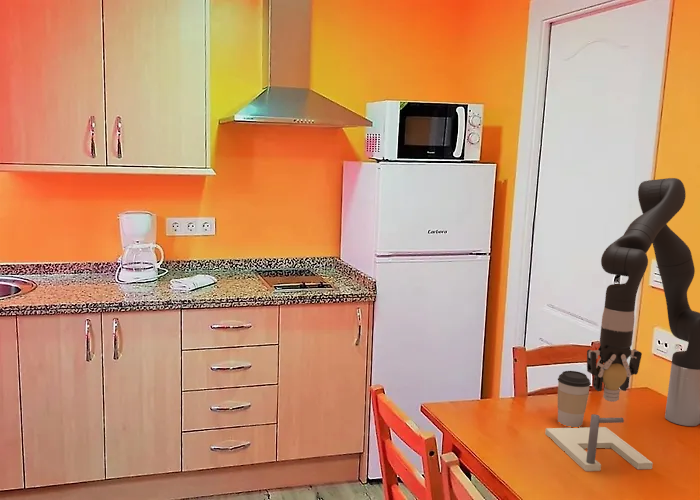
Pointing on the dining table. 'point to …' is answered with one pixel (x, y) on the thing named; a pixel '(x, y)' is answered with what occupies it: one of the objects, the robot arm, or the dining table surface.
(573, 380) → the coffee cup
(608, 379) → the light bulb
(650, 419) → the dining table surface
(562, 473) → the dining table surface
